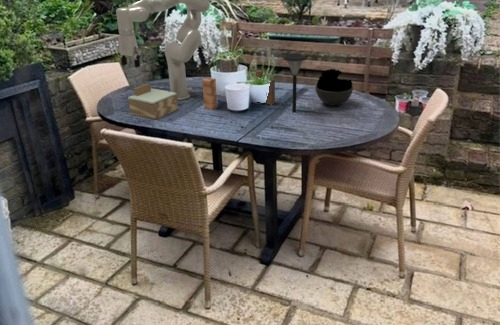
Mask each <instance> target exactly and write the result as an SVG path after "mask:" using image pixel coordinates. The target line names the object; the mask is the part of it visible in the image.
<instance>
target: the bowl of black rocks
mask: <svg viewBox="0 0 500 325" xmlns="http://www.w3.org/2000/svg"><path fill="white" fill-rule="evenodd" d="M341 74H343V71H341V70H339V69H336V68H330V69H327V70H324V71H323V72H322V73H321V76H320V77H319V78H318V80H317V83H316V85H315V93H316V95H317V97H318V99H319V100H320V101H321V102H323V104H325V105H329V106H339V105H342V104H344V103H345V102H347V101H349V99H350V97H351V96H352V93H353V92H354V86H353V80H352V79H349V80H348V79H343V78H342V79H341V78H338V77H340V75H341Z"/></svg>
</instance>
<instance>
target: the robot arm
mask: <svg viewBox="0 0 500 325" xmlns="http://www.w3.org/2000/svg"><path fill="white" fill-rule="evenodd" d="M210 2H211V1H210V0H138V1H135V2H134V3H131V4H130V5H128V6H127V7H119V8H117V9H116V10H115V14H116V19H117V27H118V28H117V29H118V33H119V35H118V42H117V43H118V47H117V48H116V51H117V53H118V55H119V57H120V60H121V65H122V66H126V65H128V60H127V59H128V58H127V57H133V58H134V60H133V62H134V68H140V67H141V62H140V61H141V60H140V59H141V57H142V53H143V52H142V50H140V49H139V46H138V42H137V38H136V35H135V28H134V22H137V23H138V22H139V23H142V22H145V21H146V20H147V19H148V18H149V14H150V13H160V12H164V11H167V10H169V9H171V8H173V7H175V6H178V5H179V4H183V5H185V6H186V10H187V11H186V12H187V15H186V18H185V20H184V22H182V24H181V26H180V28H179V29H178V31H177V33H176V40H177V41H178V42H179V43H178V42H173V41H172V42H169V43H168V44H167V45H166V46H165V48H164V55H165V59H166V61H167V62H166V63H167V69H168V70H167V71H168V79H169V88H170V90H169V91H170V92H174V93H177V101H184V100H187V99H189V98H190V97H191V94H190V93H189V92H191V91H192V90H193V88H192V87H191V86H190V87H187V77H186V75H187V74H186V65H185V63H187V62H188V61H190V59H191V58H192V57H193V55H194V54H195V52H196V51H197V49H198V47H199V46H200V44H201V42H202V41H201V40H202V34H201V32H200V30H198V29H199V28H200V26H201V23H202V13H206V12H207V11H208V10H209V9H210V6H211V5H210V4H211V3H210Z"/></svg>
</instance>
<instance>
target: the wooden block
mask: <svg viewBox="0 0 500 325" xmlns="http://www.w3.org/2000/svg"><path fill="white" fill-rule="evenodd" d="M262 76H263V70H261V69H257V70H256V71H255V78H256V77H259V78H261V77H262ZM269 83H270V86H269V93H268V96H267V95H266V96H267V100H266V103H267V104H273V105H275V104H274V103H276V101H275V100H276V94H275V93H276V79H275V78H273V79H272V80H270V81H269ZM267 104H266V105H267Z"/></svg>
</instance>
